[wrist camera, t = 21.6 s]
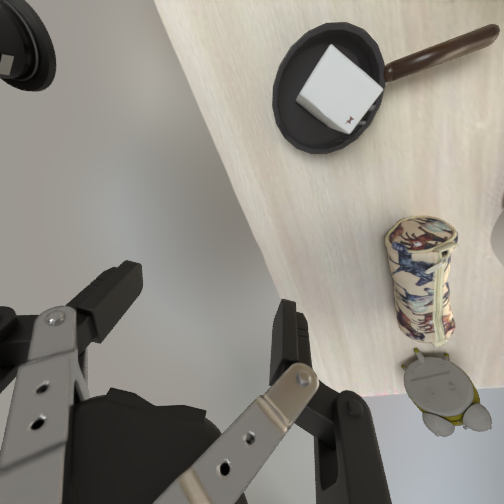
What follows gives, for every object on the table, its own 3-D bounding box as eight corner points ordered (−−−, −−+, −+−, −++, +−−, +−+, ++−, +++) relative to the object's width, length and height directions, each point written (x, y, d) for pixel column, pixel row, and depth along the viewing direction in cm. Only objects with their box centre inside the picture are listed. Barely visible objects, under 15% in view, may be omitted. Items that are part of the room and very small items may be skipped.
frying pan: (286, 161, 35) (286, 166, 32) (262, 59, 29) (259, 53, 26) (377, 132, 32) (387, 135, 29) (371, 10, 26) (382, -3, 23)
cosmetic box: (352, 96, 30) (386, 90, 19) (329, 128, 32) (349, 137, 22) (315, 65, 28) (331, 40, 18) (293, 100, 31) (297, 95, 20)
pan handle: (378, 85, 27) (384, 84, 26) (377, 67, 26) (383, 64, 25) (489, 45, 24) (502, 41, 23) (492, 23, 24) (506, 17, 22)
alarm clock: (400, 369, 57) (433, 443, 44) (388, 354, 55) (419, 428, 42) (453, 355, 52) (506, 434, 40) (443, 338, 50) (496, 416, 37)
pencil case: (375, 224, 39) (399, 255, 30) (433, 207, 36) (477, 236, 28) (390, 313, 48) (412, 356, 40) (437, 305, 46) (470, 349, 37)
